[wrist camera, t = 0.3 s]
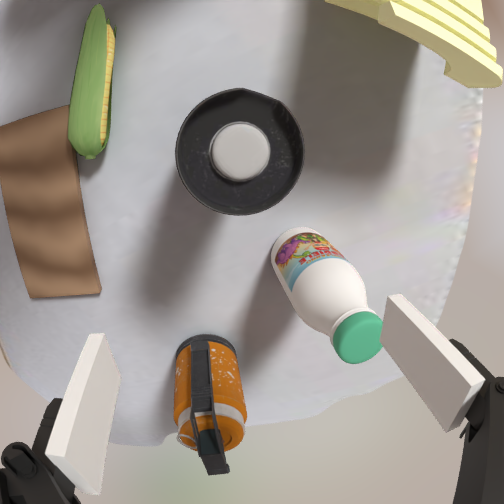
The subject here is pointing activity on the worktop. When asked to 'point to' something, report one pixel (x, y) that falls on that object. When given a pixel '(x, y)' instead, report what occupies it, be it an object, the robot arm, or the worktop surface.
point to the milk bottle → (327, 293)
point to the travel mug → (239, 152)
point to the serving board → (46, 206)
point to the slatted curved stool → (441, 34)
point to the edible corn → (92, 87)
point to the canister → (209, 399)
